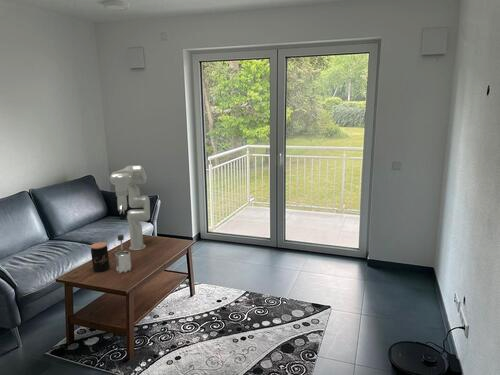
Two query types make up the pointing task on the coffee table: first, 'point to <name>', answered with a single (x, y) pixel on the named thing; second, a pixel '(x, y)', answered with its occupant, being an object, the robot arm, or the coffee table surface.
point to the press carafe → (123, 262)
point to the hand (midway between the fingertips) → (124, 217)
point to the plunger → (120, 238)
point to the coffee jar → (100, 256)
